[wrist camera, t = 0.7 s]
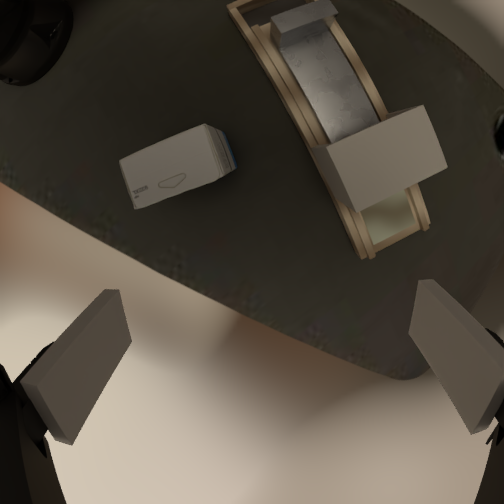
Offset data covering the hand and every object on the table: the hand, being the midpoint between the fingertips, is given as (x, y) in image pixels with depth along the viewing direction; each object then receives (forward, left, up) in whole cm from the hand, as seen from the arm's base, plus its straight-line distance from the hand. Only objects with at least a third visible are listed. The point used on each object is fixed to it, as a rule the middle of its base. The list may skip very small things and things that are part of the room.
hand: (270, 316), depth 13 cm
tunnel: (-1, +12, -22) cm, 25 cm away
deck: (-7, +12, -25) cm, 29 cm away
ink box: (-9, -5, -26) cm, 27 cm away
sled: (-8, +12, -22) cm, 26 cm away
